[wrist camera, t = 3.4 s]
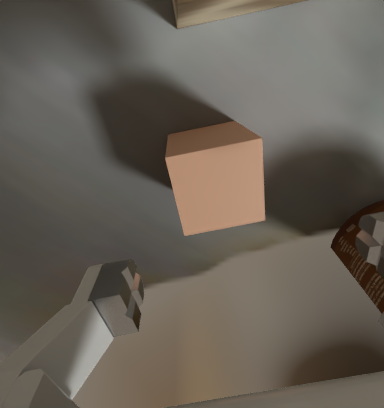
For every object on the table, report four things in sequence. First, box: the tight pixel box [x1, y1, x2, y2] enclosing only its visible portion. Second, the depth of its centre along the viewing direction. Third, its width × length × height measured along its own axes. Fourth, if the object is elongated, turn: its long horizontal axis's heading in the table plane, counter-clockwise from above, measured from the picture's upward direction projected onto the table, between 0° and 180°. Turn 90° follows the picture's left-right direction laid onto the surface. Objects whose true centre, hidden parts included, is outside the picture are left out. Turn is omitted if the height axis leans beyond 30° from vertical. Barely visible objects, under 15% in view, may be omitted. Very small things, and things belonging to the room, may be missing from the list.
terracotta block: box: [165, 121, 265, 236], centre depth 15 cm, size 5×5×6 cm
